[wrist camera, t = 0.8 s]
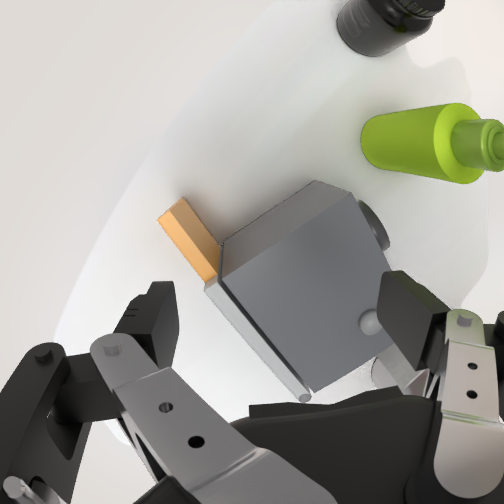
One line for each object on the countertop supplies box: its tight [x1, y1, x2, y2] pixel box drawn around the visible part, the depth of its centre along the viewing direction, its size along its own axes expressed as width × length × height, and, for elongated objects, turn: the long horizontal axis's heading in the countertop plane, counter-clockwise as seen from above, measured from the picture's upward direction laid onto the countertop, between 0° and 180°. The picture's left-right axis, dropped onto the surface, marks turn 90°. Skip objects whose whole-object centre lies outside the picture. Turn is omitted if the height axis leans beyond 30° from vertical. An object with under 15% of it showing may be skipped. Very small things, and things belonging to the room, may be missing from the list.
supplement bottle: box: [337, 0, 445, 56], centre depth 20 cm, size 7×7×12 cm
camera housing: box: [222, 180, 394, 393], centre depth 28 cm, size 14×13×11 cm
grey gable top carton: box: [376, 343, 426, 390], centre depth 32 cm, size 4×7×10 cm, turn 136°
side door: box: [157, 198, 311, 403], centre depth 28 cm, size 21×1×10 cm, turn 34°
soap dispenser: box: [361, 103, 504, 184], centre depth 21 cm, size 6×7×20 cm
